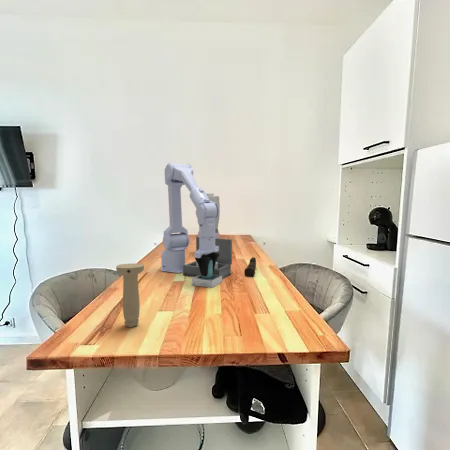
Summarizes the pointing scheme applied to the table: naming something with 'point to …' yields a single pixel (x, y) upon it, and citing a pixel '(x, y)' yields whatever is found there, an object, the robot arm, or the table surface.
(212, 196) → the blender
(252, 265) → the hand tool
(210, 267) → the teal cylinder
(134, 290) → the handle
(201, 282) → the white square frame
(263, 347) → the table surface
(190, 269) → the case
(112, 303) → the table surface
